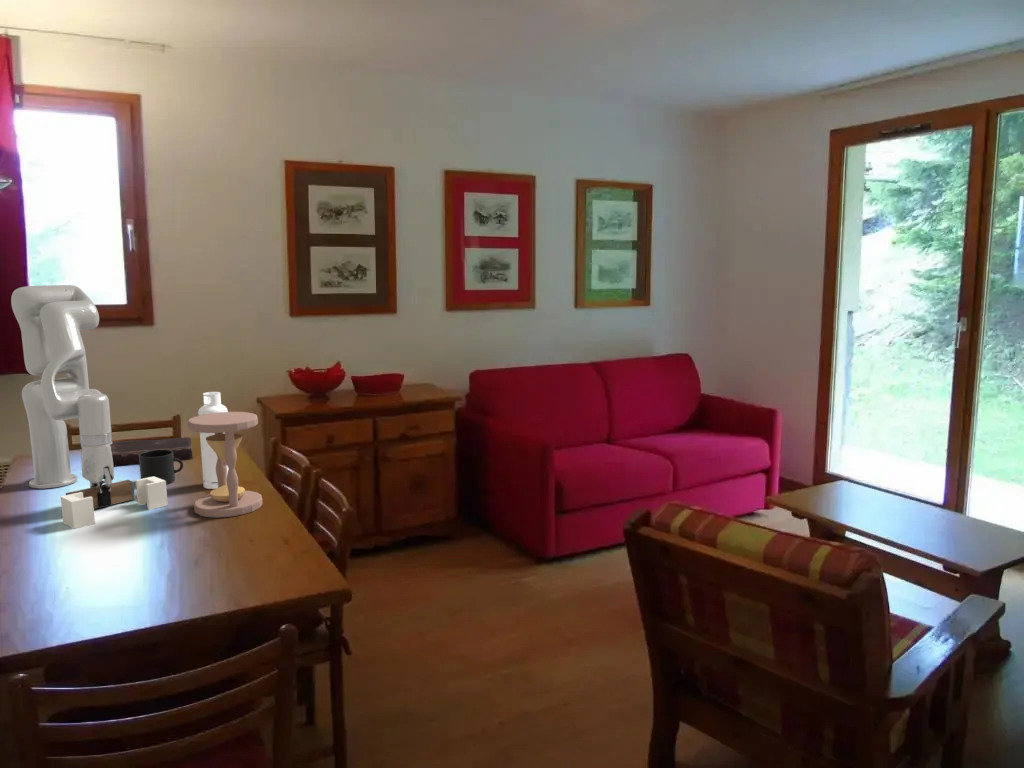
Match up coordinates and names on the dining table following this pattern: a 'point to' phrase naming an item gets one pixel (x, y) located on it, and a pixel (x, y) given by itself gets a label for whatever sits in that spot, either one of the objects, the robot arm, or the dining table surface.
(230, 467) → the hourglass
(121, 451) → the diary
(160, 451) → the mug
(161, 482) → the white u-channel cradle
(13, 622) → the dining table surface
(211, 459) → the bottle
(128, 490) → the rail
